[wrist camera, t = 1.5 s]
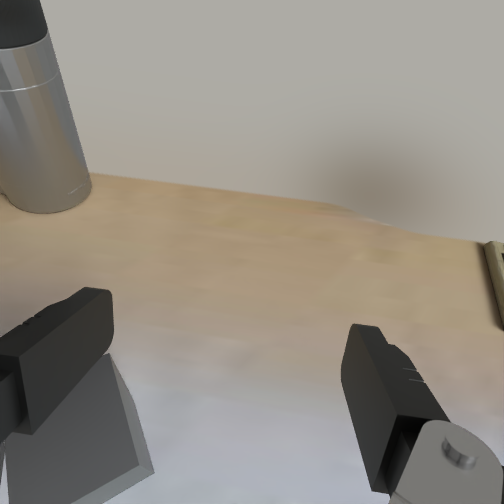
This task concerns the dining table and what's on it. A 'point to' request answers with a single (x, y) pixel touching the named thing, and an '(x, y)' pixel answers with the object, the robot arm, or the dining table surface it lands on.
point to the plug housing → (81, 446)
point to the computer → (496, 271)
